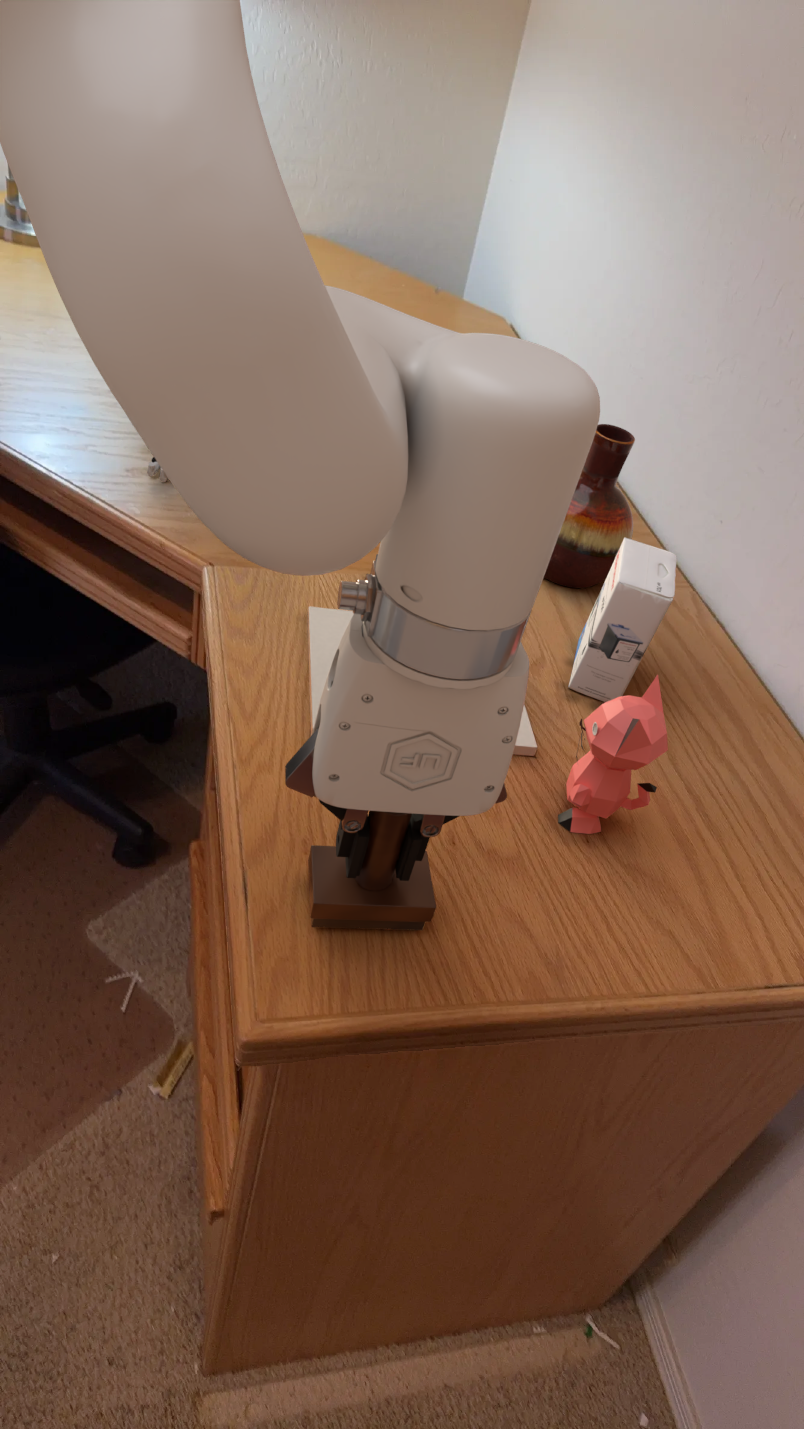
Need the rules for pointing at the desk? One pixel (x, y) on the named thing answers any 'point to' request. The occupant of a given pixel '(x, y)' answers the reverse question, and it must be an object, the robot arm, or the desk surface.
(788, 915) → the desk surface
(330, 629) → the tile
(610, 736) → the cat figurine
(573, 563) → the vase
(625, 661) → the ink box
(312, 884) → the stamp
